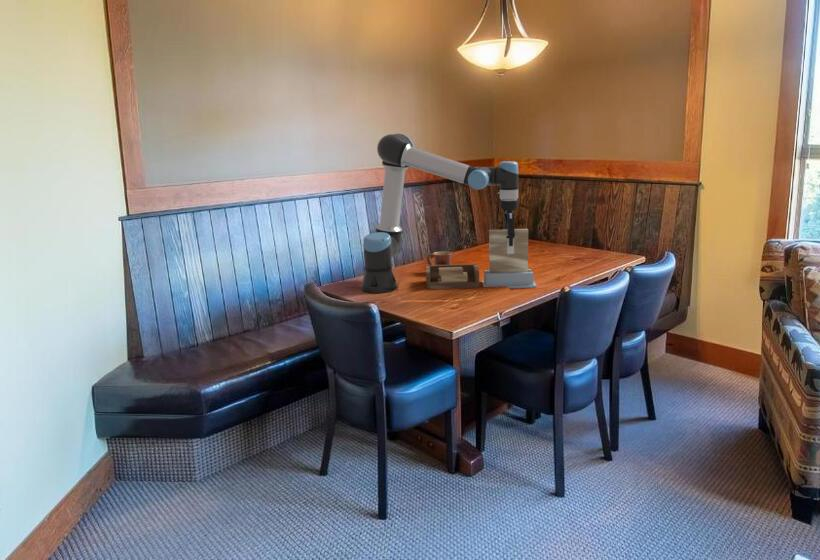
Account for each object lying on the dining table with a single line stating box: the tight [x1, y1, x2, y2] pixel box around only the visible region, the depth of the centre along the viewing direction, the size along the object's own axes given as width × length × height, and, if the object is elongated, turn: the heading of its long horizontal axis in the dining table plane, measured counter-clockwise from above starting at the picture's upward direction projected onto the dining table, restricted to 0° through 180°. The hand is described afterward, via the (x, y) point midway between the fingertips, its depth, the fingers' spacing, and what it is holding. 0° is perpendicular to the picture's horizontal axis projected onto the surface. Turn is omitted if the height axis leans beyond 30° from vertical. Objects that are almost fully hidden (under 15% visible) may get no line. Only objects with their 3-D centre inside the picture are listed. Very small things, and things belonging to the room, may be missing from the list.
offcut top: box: [439, 267, 463, 276], centre depth 259 cm, size 5×10×2 cm, turn 91°
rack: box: [425, 263, 480, 290], centre depth 262 cm, size 14×22×8 cm, turn 88°
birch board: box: [488, 228, 529, 273], centre depth 258 cm, size 2×16×23 cm, turn 88°
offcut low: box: [438, 279, 467, 283], centre depth 260 cm, size 5×12×2 cm, turn 88°
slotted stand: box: [481, 268, 537, 289], centre depth 261 cm, size 10×22×6 cm, turn 88°
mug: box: [426, 250, 453, 265], centre depth 283 cm, size 12×9×10 cm
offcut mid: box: [441, 272, 468, 282], centre depth 260 cm, size 5×11×2 cm, turn 88°
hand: (508, 250), depth 258 cm, fingers open, 13 cm apart
